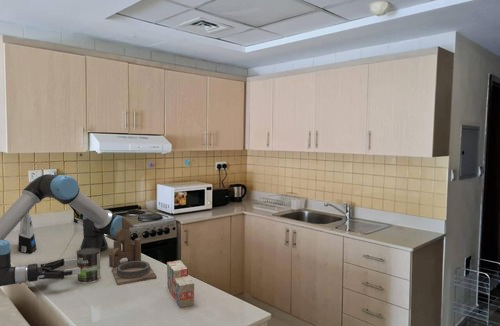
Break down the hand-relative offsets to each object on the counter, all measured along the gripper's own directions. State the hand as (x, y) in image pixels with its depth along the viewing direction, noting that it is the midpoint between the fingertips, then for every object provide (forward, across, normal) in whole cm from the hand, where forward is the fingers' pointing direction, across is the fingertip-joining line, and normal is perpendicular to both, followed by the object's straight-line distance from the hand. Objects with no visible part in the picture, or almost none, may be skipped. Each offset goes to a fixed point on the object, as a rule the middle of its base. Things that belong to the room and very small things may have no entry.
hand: (79, 265), depth 173 cm
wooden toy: (+23, -16, -8) cm, 29 cm away
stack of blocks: (+38, +36, -8) cm, 53 cm away
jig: (+24, +2, -8) cm, 25 cm away
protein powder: (-26, -68, -8) cm, 73 cm away
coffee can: (+4, 0, -8) cm, 9 cm away
